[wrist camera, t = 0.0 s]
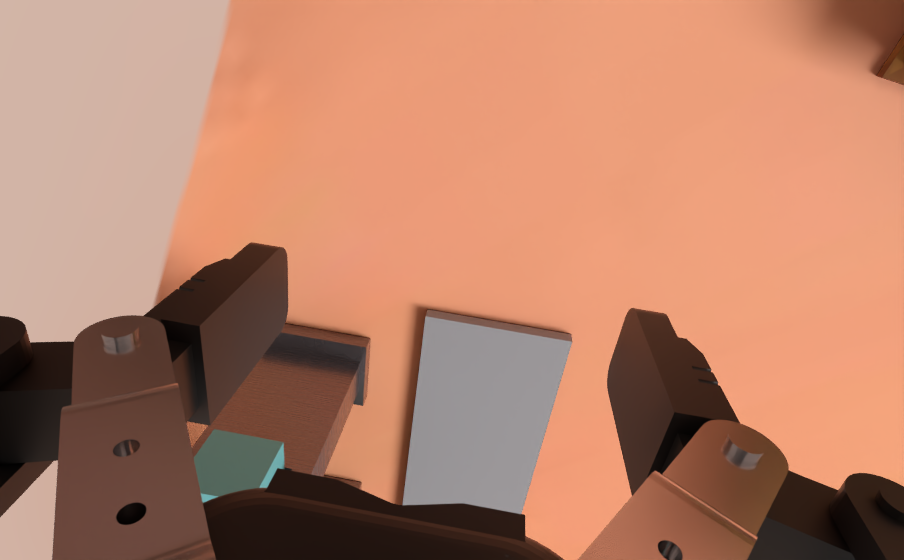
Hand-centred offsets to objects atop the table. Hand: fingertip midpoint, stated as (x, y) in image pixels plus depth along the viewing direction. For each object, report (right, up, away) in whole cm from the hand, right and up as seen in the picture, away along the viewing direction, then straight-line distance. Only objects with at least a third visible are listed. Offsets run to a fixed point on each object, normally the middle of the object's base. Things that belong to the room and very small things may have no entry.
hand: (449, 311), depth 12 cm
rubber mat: (+1, -12, +26) cm, 29 cm away
